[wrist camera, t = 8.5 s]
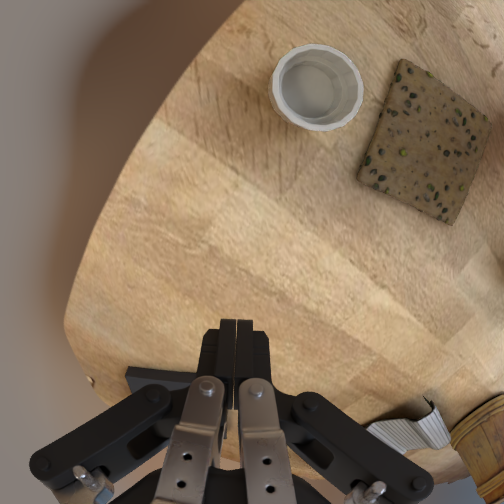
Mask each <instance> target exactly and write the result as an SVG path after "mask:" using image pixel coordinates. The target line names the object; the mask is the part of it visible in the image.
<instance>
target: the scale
mask: <svg viewBox="0 0 504 504" xmlns="http://www.w3.org/2000/svg"><path fill="white" fill-rule="evenodd" d="M196 374H197V373H187V372H174V371H164V370H154V369H145V368H137V367H130V366H128V369H127V372H126V374H125V378H126V380H127V382H128V385H129V387H130V390H131V392H132V394H133V393H134V392H136V391H138V390H139V389H141V388H142V387H144V386H146V385H149V384H160V385H163V386H165V387H166V388H167V389H168V390H169V391H172V390H178V389H183V388H186V387H188V386H189V385H191V383H192V382H193V381H194V380H195V378H196ZM223 439H227V424H226V425H225V432H224V438H223Z"/></svg>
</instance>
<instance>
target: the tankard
mask: <svg viewBox="0 0 504 504" xmlns="http://www.w3.org/2000/svg"><path fill="white" fill-rule="evenodd" d="M450 436H451V441H450V442H449V443H450V444H451V446H452V448H453V449H454V450H455V451H457V452H458V453H459V455H460V457H461V459H462V460H463V462H464V464H465V465H466V467H467V469H468V471H469V472H470V474H471V476H472V478H473V480H474V482H475V484H476V486H477V489H476V491H477V493H478V495H480V498H484V500H485V502H486V504H500V503H502V502H504V394H503V395H501V396H498V397H496V398H494V399H493V400H491V401H489V402H487V403H486V404H484V405H483V406H481V407H480V408H478V409H477V410H476V411H474V412H473V413H472V414H470V415H469V416H468V417H466V418H465V419H464V420H463V421H462V422H460V423H459V424H458V425H457V426H456V427H455V428H454V429H453V430H452V431H451V433H450Z"/></svg>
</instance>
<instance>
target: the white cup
mask: <svg viewBox="0 0 504 504" xmlns="http://www.w3.org/2000/svg"><path fill="white" fill-rule="evenodd" d="M268 96H269V99H270V102H271V104H272V107H273V109H274V111H275V112H276V113H277V114H278V115H279V116H280V117H281V118H282V119H283V120H285V121H286V122H288V123H290V124H293V125H295V126H297V127H300V128H304V129H307V130H314V131H325V132H326V131H330V130H333V129H337V128H340V127H343V126H344V125H345V124H347V123H348V122H349V121H350V120H351V119H353V118H354V117H355V116H356V114H357V112H358V110H359V108H360V106H361V104H362V102H363V82H362V79H361V76H360V73H359V71H358V68H357V67H356V66H355V65H354V63H353V62H352V61H351V60H350V59H349V58H348V57H347V56H346V55H345V54H344V53H342V52H340V51H338V50H336V49H335V48H333V47H331V46H328V45H320V44H307V45H303V46H299V47H295V48H293V49H292V50H291V51H289V52H288V53H287V54H286V55H284V56H283V57H282V58H281V59H280V60H279V62H278V64H277V66H276V68H275V70H274V72H273V74H272V76H271V78H270V80H269V85H268Z"/></svg>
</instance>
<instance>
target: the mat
mask: <svg viewBox="0 0 504 504" xmlns="http://www.w3.org/2000/svg"><path fill="white" fill-rule="evenodd" d="M423 397H424V396H423ZM424 399H425V400H426V401H427V403H428V404H429V405H430V407H431V408H432V411H431V412H430V413H428V414H427V415H425V416H424V417H423V418H420V419H408V418H398V419H384V420H381V421H378V422H374V423H371V424H369V425H368V426H366V427H365V429H366V430H368V431H369V432H370V433H372V434H373V435H375V436H376V437H377V438H379V439H380V440H382V441H383V442H384V443H386V444H387V445H389V446H390V447H391V448H393V449H394V450H396V451H397V452H399V453H400V454H402V455H403V454H404V453H405V452H406V451H408V450H412V449H422V448H432V449H436V450H439V449H441V448H443V447H444V446H446V445H447V444H449V442H450V441H451V436H450V434H449V432H448V430H447V428H446V426H445V424H444V422H443V420H442V418H441V416H440V414H439V412H438V410H437V408H436V406H435V404H434V402H433V401H432V400H431V401H430V402H429V401H428V400H427V399H426V398H425V397H424Z"/></svg>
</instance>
